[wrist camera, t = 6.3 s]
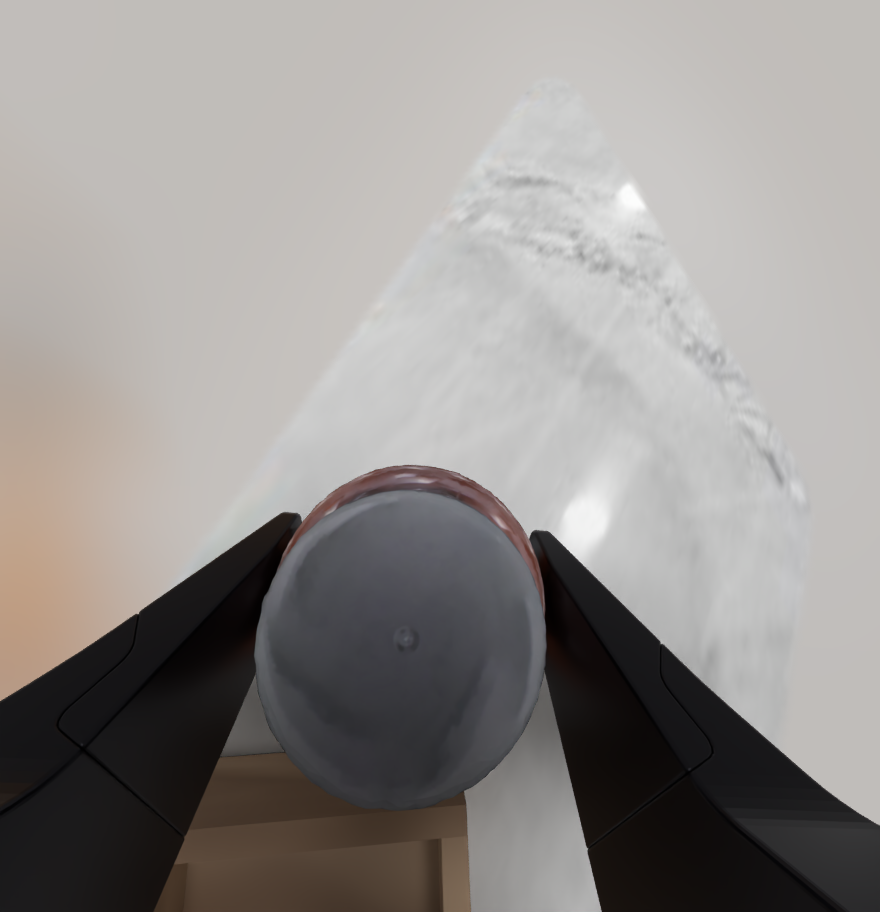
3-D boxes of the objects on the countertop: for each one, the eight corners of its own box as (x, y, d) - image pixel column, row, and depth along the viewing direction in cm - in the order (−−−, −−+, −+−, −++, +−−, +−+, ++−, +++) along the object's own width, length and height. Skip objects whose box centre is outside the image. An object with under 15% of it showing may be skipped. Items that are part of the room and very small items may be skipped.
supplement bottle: (491, 515, 16) (646, 473, 5) (467, 650, 15) (608, 984, 4) (368, 487, 16) (263, 385, 5) (332, 621, 15) (82, 871, 4)
